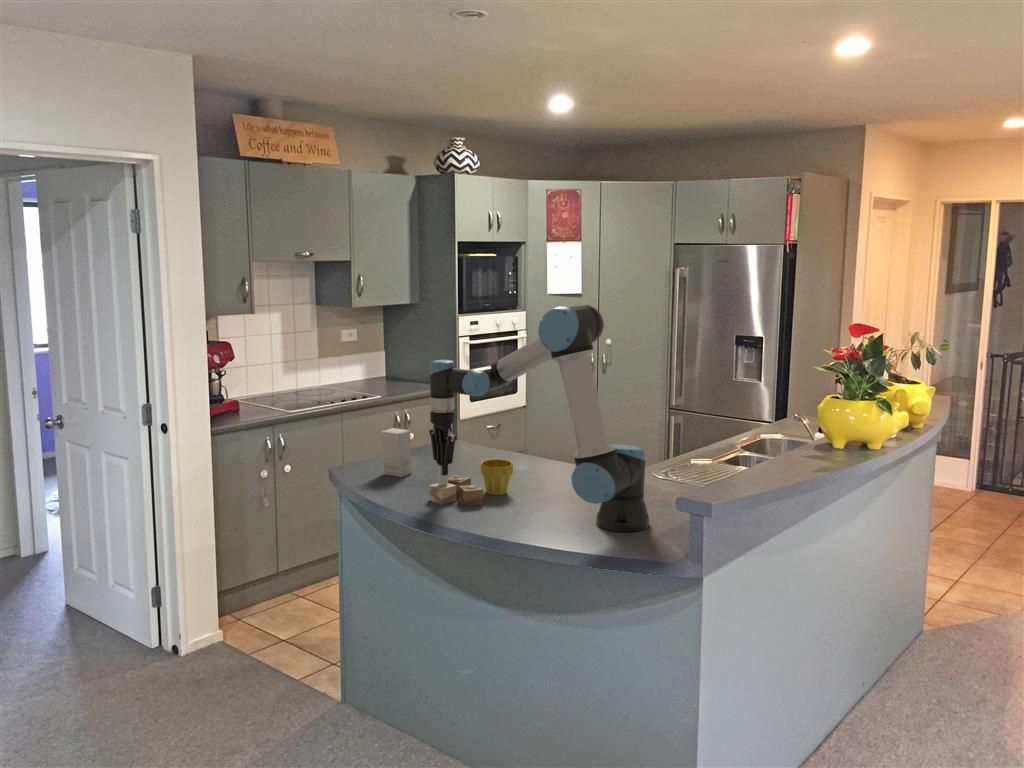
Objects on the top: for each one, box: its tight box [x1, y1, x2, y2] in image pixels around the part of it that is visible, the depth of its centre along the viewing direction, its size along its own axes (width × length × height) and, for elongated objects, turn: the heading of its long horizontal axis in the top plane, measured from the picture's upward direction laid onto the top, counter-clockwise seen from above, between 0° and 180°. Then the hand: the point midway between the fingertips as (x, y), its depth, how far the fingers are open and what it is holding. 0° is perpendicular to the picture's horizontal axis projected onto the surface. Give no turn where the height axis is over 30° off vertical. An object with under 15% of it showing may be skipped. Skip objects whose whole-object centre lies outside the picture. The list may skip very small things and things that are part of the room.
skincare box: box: [380, 427, 413, 478], centre depth 297 cm, size 8×7×16 cm
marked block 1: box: [448, 474, 472, 498], centre depth 277 cm, size 6×6×5 cm
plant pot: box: [480, 458, 514, 496], centre depth 277 cm, size 10×10×10 cm
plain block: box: [428, 482, 457, 505], centre depth 269 cm, size 6×6×5 cm
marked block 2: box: [458, 483, 484, 508], centre depth 266 cm, size 6×6×5 cm
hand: (442, 484), depth 268 cm, fingers closed
